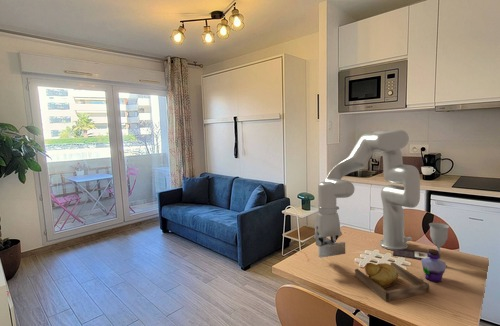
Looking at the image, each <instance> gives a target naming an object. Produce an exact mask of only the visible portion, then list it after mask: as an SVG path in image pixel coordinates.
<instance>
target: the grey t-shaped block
mask: <svg viewBox="0 0 500 326" xmlns="http://www.w3.org/2000/svg"><path fill="white" fill-rule="evenodd" d="M318 237H320V236H318ZM315 245H316V246H317V247H318V258H320V259H321V258H328V257H333V256H340V255H345V254H346V242H345V241H341V242H335V243H334V242H332V241H331V239H330V238H329V237H326V245H321V242H320V241H319V240H317V239H315Z"/></svg>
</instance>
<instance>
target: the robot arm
mask: <svg viewBox="0 0 500 326" xmlns="http://www.w3.org/2000/svg"><path fill="white" fill-rule="evenodd" d="M409 140H410V137H409V133H408V132H406V131H405V130H402V129H390V130H388V129H387V130H382V129H381V130H376V131H374V132H373V133H372V132H370V133H368V132H367V133H364V134H362V135H361V136H360V137H359V138H358V140H357V142H356V143H355V145H354V147H353V148H352V150H351V152H350V153H349V154H348V156H346V158H345V159H343V160H342V161H340V162H339V163H338V164H336V165H335V166H334V167H333V168H331V170H330V171H329V173H328V174H327V176H326V177H325V179H324V181H321V182H319V183H318V186H317V189H318V190H317V192H318V193H317V194H318V195H317V196H318V197H317V198H318V212H317V213H316V214H315V215H316V216H315V223H314V225H315V226H314V228H315V229H314V234H313V235H314V236H313V238H314V239H315V240H316V239H317V240H319V241H320V242H321V245H326V237H327V238H329V239H330V240H331V241H332V242H334V243H337V240H338V239H339V238H340V237H341V236H342V235H343V232H342V231H341V223H340V216H339V214H338V211H339V210H340V207H339V206H337V199H339V198H340V199H342V198H343V199H344V198H345V199H347V198H349V197H351V196H353V195H354V193H355V189H356V188H355V185H354V183H352V182H351V181H348V180H345V179H343V177H345V176H348V174H351V173H353V172H358V171H360V170H363V169H364V168H365V167H366V166H367V164H368V162H369V161H370V159H371V157H372V156H373V154H374V153H381V155H382V161H383V163H382V167H383V169H382V170H383V171H382V172H383V179H384V180H385V181H386V182H387V183H388V182H389V183H392V184H387V185H384V186H383V187H382V188H381V190H380V199H381V202H382V212H383V213H382V215H383V216H382V218H383V219H382V220H383V221H382V228H383V229H382V235H383V237H382V238H383V239H381V240H380V241H379V245H380V246H381V247H382V248H384V249H386V250H390V251H393V250H404V249H409V248H408V244H407V242H411V241H413V238H412V237H411V236H407V237H406V236H405V211H404V210H405V209H404V208H403V207H405V208H410V209H412V208H413V209H414V208H416V207H417V206H418V205H419V204H420V201H421V177H420V172H419V169H418V168H417V167H416V166H415V165H411V164H404V162H403V153H402V151H401V149H403V148H405V147H406V146H407V145H408V143H409ZM396 184H398V185H396ZM401 185H402V186H401ZM318 236H320V237H318Z"/></svg>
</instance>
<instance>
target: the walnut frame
mask: <svg viewBox="0 0 500 326" xmlns="http://www.w3.org/2000/svg"><path fill="white" fill-rule="evenodd" d="M390 265H391V266H393V267H394V268H395V270H396V271H397V273H398V276H399V277H401V278H403V279H405V280H406V281H407V282H409V283H411V284H412V285H410V286H405V287H400V288H395V289H391V290H385V288H382V287H380V286H379V285H378V284H376V283H375V282H374V281H373V280H371V279H370V278H369V276H368V275H367V274H365V273H364V272H363V271H361V270H360V269H359V268H355V269H354V277H355V278H356V279H358V280H359V281H360V282H361V283H363V284H364V286H366V287H368V288H369V289H370V290H371V291H372V292H374V293H375V294H376V295H377V296H379V298H381V299H382V301H384V302H386V303H387V302H391V301H394V300H401V299H405V298H409V297H412V296H418V295H423V294H427V293H430V284H429V283H427V282H426V281H424V280H423V279H422V278H420V277H418V276H416V275H414V274H413V273H411V272H409V271H408V270H406V269H405V268H403V267H402V266H400V265H398V264H396V263H395V262H390Z"/></svg>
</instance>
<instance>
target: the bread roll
mask: <svg viewBox="0 0 500 326" xmlns="http://www.w3.org/2000/svg"><path fill="white" fill-rule="evenodd" d="M364 270H365V273H366V274H365V275H366V276H368V277H369V278H370V279H371V280H373V281H374V282H375V283H376V284H378V285H379V286H380V287H382V288H383V289H385V288H388V287H391V286H394V285H396V283H397V282H398V279H399V274H398V273H397V271H396V270H395V268H394V267H393V266H391V264H389V263H386V262H385V263H376V264H375V263H372V262H367V263H366V264H365V266H364Z"/></svg>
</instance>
